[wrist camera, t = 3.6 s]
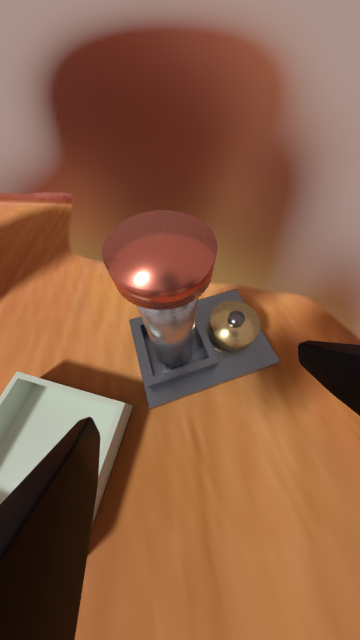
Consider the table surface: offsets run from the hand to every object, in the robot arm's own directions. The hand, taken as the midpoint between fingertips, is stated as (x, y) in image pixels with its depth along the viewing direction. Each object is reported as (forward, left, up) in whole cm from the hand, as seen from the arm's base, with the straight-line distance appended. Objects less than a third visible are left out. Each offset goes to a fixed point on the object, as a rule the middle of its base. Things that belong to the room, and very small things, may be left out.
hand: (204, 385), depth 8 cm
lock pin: (+5, +3, -11) cm, 13 cm away
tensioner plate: (+7, +1, -12) cm, 14 cm away
